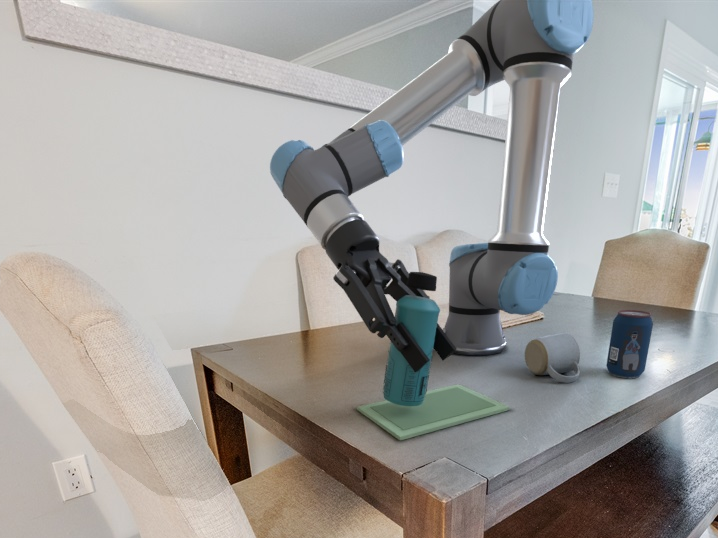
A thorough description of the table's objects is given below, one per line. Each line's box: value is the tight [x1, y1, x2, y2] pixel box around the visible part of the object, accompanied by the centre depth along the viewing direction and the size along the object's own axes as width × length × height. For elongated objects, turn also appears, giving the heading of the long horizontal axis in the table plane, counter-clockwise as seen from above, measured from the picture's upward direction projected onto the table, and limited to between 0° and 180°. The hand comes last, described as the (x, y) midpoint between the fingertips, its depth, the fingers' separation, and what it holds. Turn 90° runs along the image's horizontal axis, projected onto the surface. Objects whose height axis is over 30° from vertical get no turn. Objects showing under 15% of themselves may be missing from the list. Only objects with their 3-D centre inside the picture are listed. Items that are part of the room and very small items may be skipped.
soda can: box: [605, 309, 654, 379], centre depth 88 cm, size 7×7×12 cm
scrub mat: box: [356, 383, 510, 442], centre depth 72 cm, size 20×13×1 cm, turn 124°
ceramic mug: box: [524, 331, 581, 384], centre depth 88 cm, size 11×8×8 cm
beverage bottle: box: [381, 271, 441, 406], centre depth 66 cm, size 6×7×20 cm
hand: (436, 360), depth 65 cm, fingers closed on beverage bottle, 6 cm apart
